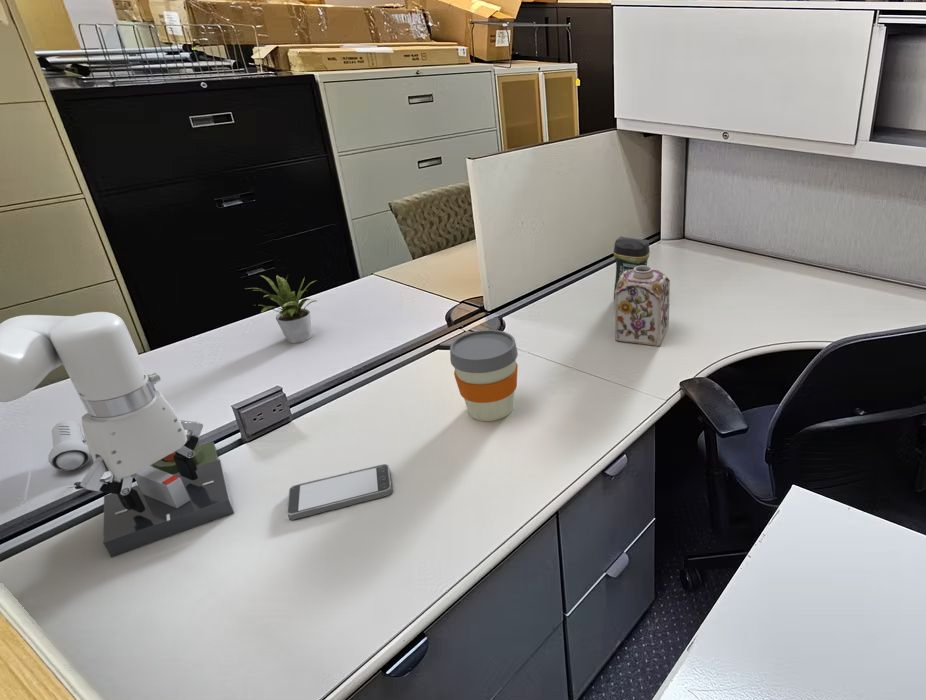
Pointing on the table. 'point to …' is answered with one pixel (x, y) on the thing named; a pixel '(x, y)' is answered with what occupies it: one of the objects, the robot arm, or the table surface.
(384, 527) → the table surface
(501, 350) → the reusable coffee cup
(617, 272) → the coffee jar
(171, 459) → the button
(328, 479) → the smartphone
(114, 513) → the dial base
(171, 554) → the table surface
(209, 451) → the button housing
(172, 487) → the bevelled grey block
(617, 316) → the decorative jar
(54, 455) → the clip-on lamp
